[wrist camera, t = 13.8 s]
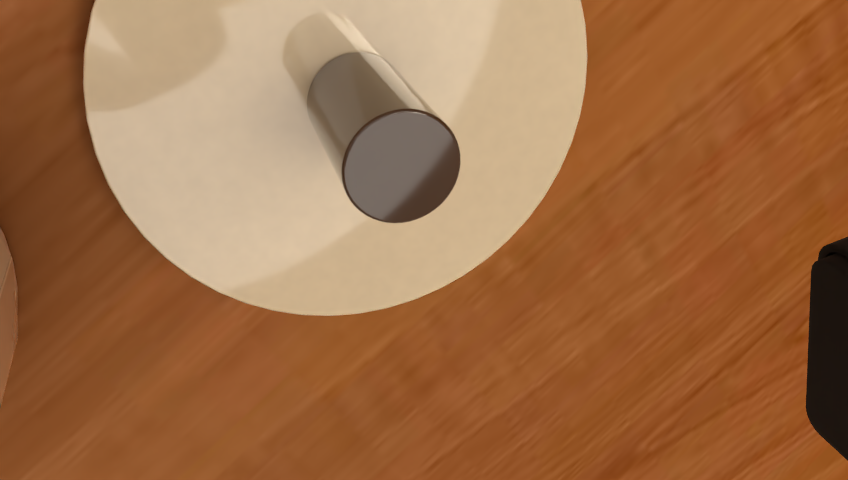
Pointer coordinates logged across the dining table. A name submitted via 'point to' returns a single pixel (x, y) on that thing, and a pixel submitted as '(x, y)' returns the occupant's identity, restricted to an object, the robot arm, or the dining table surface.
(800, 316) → the dining table surface
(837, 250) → the robot arm
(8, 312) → the crock
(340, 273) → the lid
